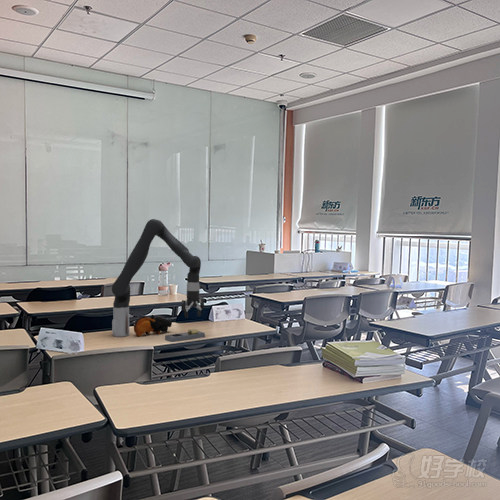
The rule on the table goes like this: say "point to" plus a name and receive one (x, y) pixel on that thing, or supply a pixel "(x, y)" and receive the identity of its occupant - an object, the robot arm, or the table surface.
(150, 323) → the toy guinea pig
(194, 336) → the grey flat block
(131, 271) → the robot arm
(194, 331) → the yellow cube
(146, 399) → the table surface
